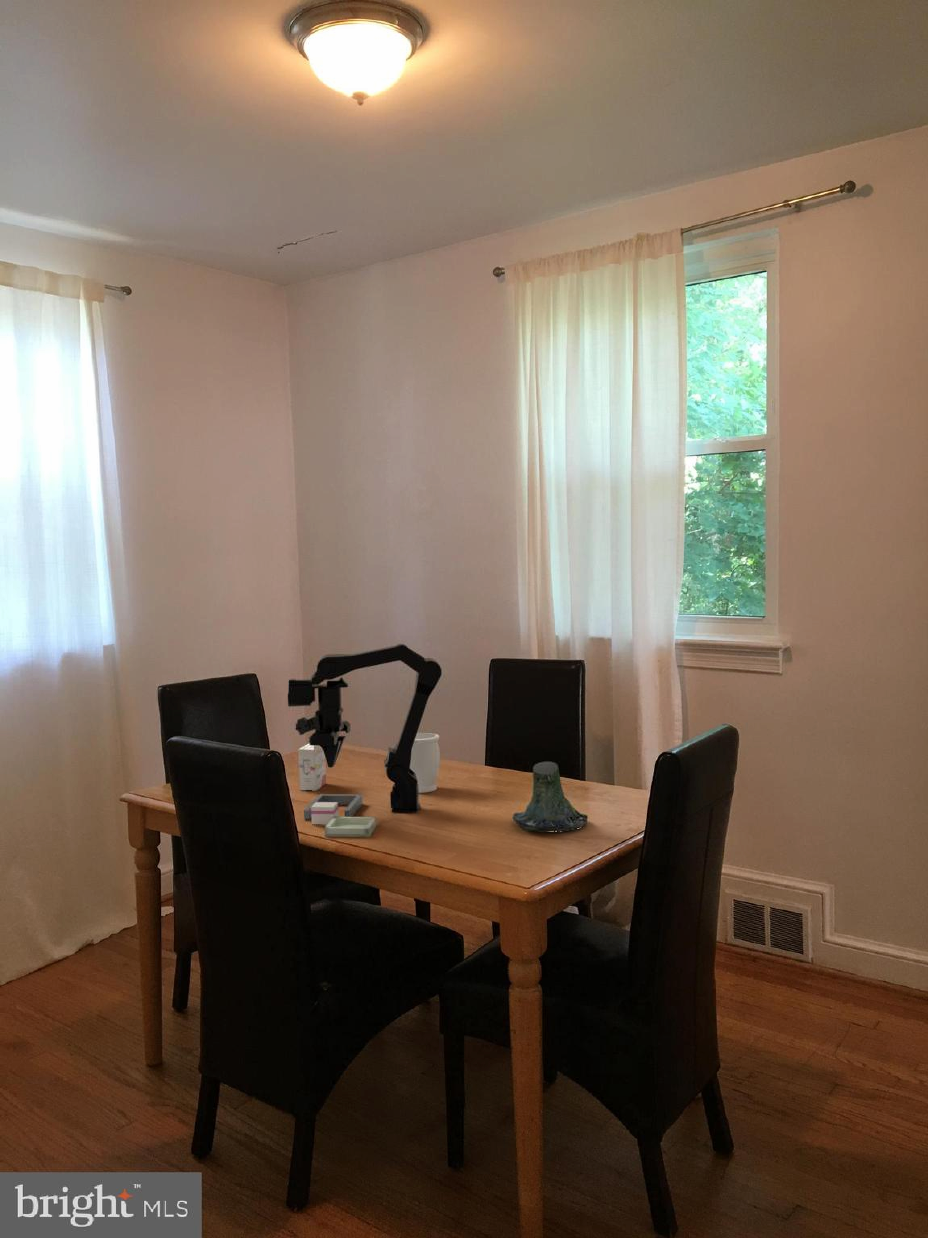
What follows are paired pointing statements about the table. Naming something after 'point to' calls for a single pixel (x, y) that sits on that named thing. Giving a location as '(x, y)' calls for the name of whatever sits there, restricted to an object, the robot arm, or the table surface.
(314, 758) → the ink cartridge box
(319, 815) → the white striped box
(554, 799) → the tree stump
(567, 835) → the table surface
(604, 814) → the table surface
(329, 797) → the bay
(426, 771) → the jar
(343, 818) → the tray
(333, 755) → the robot arm
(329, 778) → the table surface
